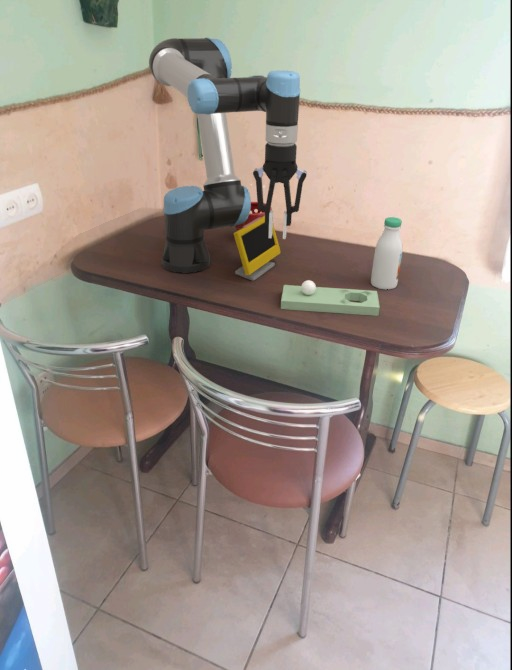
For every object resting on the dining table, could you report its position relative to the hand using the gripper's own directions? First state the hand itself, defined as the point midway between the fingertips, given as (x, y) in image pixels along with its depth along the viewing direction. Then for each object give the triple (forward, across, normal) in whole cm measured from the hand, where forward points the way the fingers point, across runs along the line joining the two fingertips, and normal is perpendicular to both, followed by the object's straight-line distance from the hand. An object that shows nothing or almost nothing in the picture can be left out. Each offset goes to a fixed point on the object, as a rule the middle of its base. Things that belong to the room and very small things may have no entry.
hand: (277, 236), depth 141 cm
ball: (+14, +9, 0) cm, 17 cm away
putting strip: (+19, +15, 0) cm, 24 cm away
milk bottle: (+19, +31, +15) cm, 39 cm away
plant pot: (+19, -12, +45) cm, 50 cm away
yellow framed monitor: (+19, -8, +19) cm, 28 cm away
